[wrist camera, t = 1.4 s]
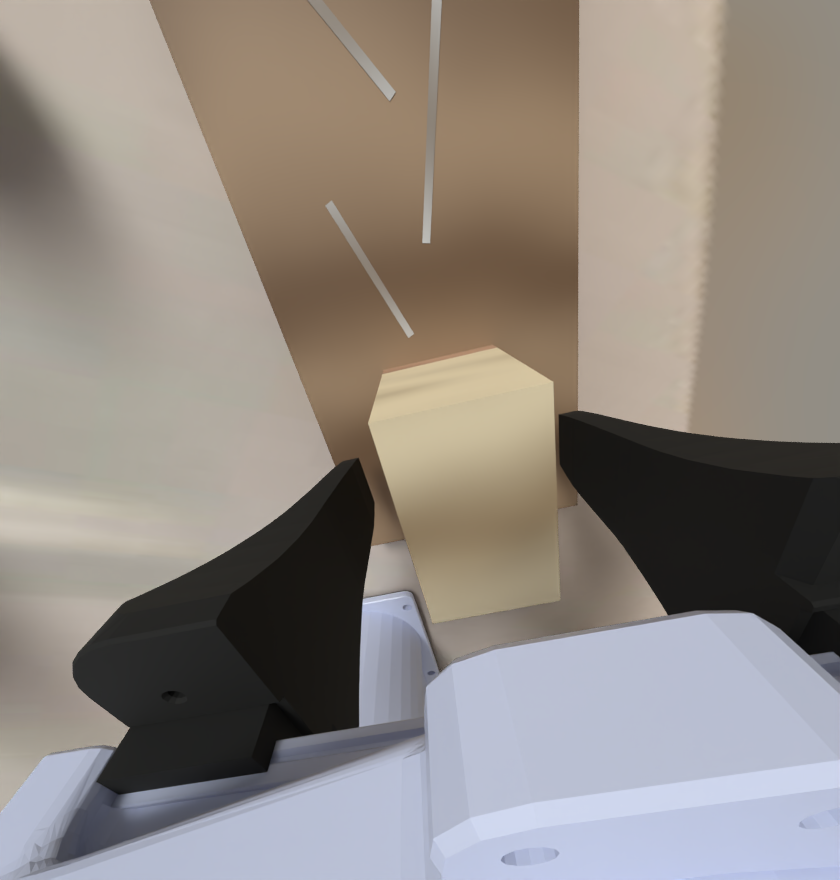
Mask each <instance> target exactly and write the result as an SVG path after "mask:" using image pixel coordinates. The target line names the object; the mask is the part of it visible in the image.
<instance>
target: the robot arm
mask: <svg viewBox="0 0 840 880" xmlns="http://www.w3.org/2000/svg"><path fill="white" fill-rule="evenodd" d="M558 419H559V460H560V466H561V467H562V469H563V471H564V473H565V474H566V476H567V478H568V479H569V481H570V482H571V484H572V485H573V487H574V488H575V489H576V490H577V492H578V493H579V494H580V495H581V496H582V498H583V499H584V500H585V501H586V502H587V504H588V505H589V506H590V507H591V508H592V509H593V511H594V512H595V513H596V514H597V515H598V516H599V518H600V519H601V520H602V521H603V522H604V523H605V525H606V526H607V527H608V528H609V529H610V530H611V532H612V533H613V534H614V535H615V536H616V538H617V539H618V540H619V542H620V543H621V544H622V545H623V547H624V548H625V550H626V551H627V553H628V554H629V556H630V557H631V559H632V560H633V561H634V563H635V564H636V566H637V567H638V569H639V570H640V572H641V573H642V575H643V576H644V578H645V579H646V581H647V582H648V584H649V586H650V587H651V589H652V590H653V592H654V593H655V595H656V596H657V598H658V600H659V601H660V603H661V604H662V606H663V608H664V609H665V611H666V613H667V614H668V616H662V617H656V618H650V619H645V620H639V621H633V622H627V623H621V624H615V625H610V626H604V627H598V628H592V629H586V630H581V631H575V632H569V633H563V634H557V635H552V636H546V637H540V638H534V639H528V640H523V641H517V642H511V643H505V644H499V645H494V646H491V647H488V648H485V649H482V650H479V651H476V652H473V653H470V654H467V655H464V656H461V657H458V658H456V659H455V660H454V661H452V662H451V663H450V664H449V665H448V666H447V667H446V668H445V669H444V670H442V671H441V672H440V671H439V668H438V666H437V663H436V660H435V657H434V654H433V651H432V648H431V645H430V642H429V639H428V636H427V634H426V631H425V628H424V625H423V622H422V619H421V616H420V613H419V610H418V607H417V604H416V601H415V599H414V596H413V594H412V593H411V592H409V591H401V592H396V593H391V594H386V595H380V596H375V597H370V598H364V599H363V592H364V584H365V578H366V572H367V566H368V560H369V555H370V549H371V543H372V537H373V531H374V518H375V502H374V499H373V496H372V493H371V491H370V488H369V485H368V482H367V479H366V477H365V474H364V471H363V468H362V465H361V463H360V460H359V458H355V459H350V460H345V461H342V462H341V463H339V464H338V465H337V466H336V467H335V468H333V469H332V470H331V471H330V472H329V473H328V474H327V475H326V476H325V477H324V478H323V479H322V480H321V481H320V482H319V483H318V484H316V485H315V486H314V487H313V488H312V489H311V490H310V491H309V492H308V493H307V494H306V495H304V496H303V497H302V498H301V499H300V500H299V501H297V502H296V503H295V504H294V505H293V506H292V507H291V508H289V509H288V510H287V511H286V512H284V513H283V514H282V515H281V516H279V517H278V518H277V519H275V520H274V521H273V522H271V523H270V524H269V525H267V526H266V527H264V528H263V529H262V530H260V531H259V532H257V533H256V534H254V535H252V536H251V537H249V538H248V539H246V540H245V541H243V542H241V543H240V544H238V545H237V546H235V547H233V548H232V549H230V550H229V551H227V552H225V553H224V554H222V555H220V556H218V557H216V558H215V559H213V560H211V561H209V562H207V563H206V564H204V565H202V566H200V567H198V568H196V569H194V570H192V571H190V572H189V573H187V574H185V575H183V576H181V577H179V578H177V579H174V580H172V581H170V582H168V583H166V584H164V585H161V586H159V587H157V588H155V589H153V590H151V591H149V592H146V593H144V594H142V595H140V596H138V597H136V598H133V599H131V600H129V601H126V602H125V603H124V604H122V605H121V606H120V607H119V608H118V609H117V610H116V612H115V613H114V614H113V615H112V616H111V617H110V618H109V619H108V620H107V621H106V623H105V624H104V625H103V626H102V627H101V628H100V629H99V630H98V631H97V632H96V634H95V635H94V636H93V637H92V638H91V639H90V640H89V641H88V642H87V644H86V645H85V646H84V647H83V648H82V649H81V650H80V651H79V652H78V654H77V656H76V657H75V659H74V661H73V678H74V680H75V682H76V683H77V685H78V687H79V688H80V689H81V690H82V691H83V692H84V693H85V694H86V695H87V696H88V697H89V698H90V699H92V700H93V701H94V702H96V703H97V704H98V705H100V706H101V707H102V708H104V709H105V710H106V711H108V712H109V713H110V714H112V715H113V716H114V717H116V718H117V719H118V720H120V721H121V722H123V723H124V724H125V725H127V726H128V727H130V729H129V730H128V732H127V734H126V735H125V737H124V738H123V740H122V741H121V743H120V745H119V746H118V748H115V747H111V746H105V745H102V746H91V747H85V748H79V749H73V750H67V751H61V752H55V753H51V754H49V755H47V756H45V757H44V758H43V759H42V760H41V761H40V763H39V764H38V765H37V767H36V768H35V769H34V770H33V772H32V773H31V774H30V776H29V777H28V778H27V779H26V781H25V782H24V783H23V785H22V786H21V787H20V788H19V790H18V791H17V792H16V794H15V795H14V796H13V797H12V799H11V800H10V801H9V803H8V804H7V805H6V806H5V808H4V809H3V810H2V812H1V813H0V880H840V443H802V442H801V443H800V442H778V441H762V440H748V439H735V438H724V437H715V436H708V435H700V434H692V433H686V432H679V431H673V430H668V429H663V428H657V427H652V426H647V425H643V424H638V423H633V422H629V421H625V420H620V419H616V418H612V417H608V416H603V415H599V414H594V413H590V412H584V411H572V412H568V413H563V414H558Z"/></svg>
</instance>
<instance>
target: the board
mask: <svg viewBox="0 0 840 880" xmlns="http://www.w3.org/2000/svg"><path fill="white" fill-rule="evenodd" d="M150 3H151V5H152V8H153V10H154V13H155V15H156V18H157V20H158V23H159V25H160V28H161V30H162V33H163V35H164V38H165V40H166V43H167V45H168V48H169V50H170V53H171V55H172V58H173V60H174V63H175V65H176V68H177V70H178V73H179V75H180V78H181V80H182V83H183V85H184V88H185V90H186V93H187V95H188V98H189V100H190V103H191V105H192V108H193V110H194V113H195V115H196V118H197V121H198V123H199V126H200V128H201V131H202V133H203V136H204V138H205V141H206V143H207V146H208V148H209V151H210V153H211V156H212V158H213V161H214V163H215V166H216V168H217V171H218V173H219V176H220V178H221V181H222V183H223V186H224V188H225V191H226V193H227V196H228V198H229V201H230V203H231V206H232V208H233V211H234V213H235V216H236V218H237V221H238V223H239V226H240V228H241V231H242V233H243V236H244V238H245V241H246V243H247V246H248V248H249V251H250V253H251V256H252V258H253V261H254V263H255V266H256V268H257V271H258V273H259V276H260V278H261V281H262V283H263V286H264V288H265V291H266V293H267V296H268V298H269V301H270V303H271V306H272V308H273V311H274V313H275V316H276V318H277V321H278V323H279V326H280V328H281V331H282V333H283V336H284V338H285V341H286V343H287V346H288V348H289V351H290V353H291V356H292V358H293V361H294V363H295V366H296V368H297V371H298V373H299V376H300V378H301V381H302V384H303V386H304V389H305V391H306V394H307V396H308V399H309V401H310V404H311V406H312V409H313V411H314V414H315V416H316V419H317V421H318V424H319V426H320V429H321V431H322V434H323V436H324V439H325V441H326V444H327V446H328V449H329V451H330V454H331V456H332V459H333V461H334V464H335V466H337V465H338V464H339V463H341V462H342V461H345V460H350V459H355V458H359V460H360V463H361V465H362V468H363V471H364V474H365V477H366V479H367V482H368V485H369V488H370V491H371V493H372V496H373V499H374V502H375V518H374V531H373V537H372V543H371V546H374V545H379V544H384V543H389V542H394V541H399V540H404V539H405V536H404V533H403V530H402V527H401V524H400V521H399V518H398V515H397V512H396V508H395V505H394V502H393V499H392V496H391V493H390V490H389V487H388V484H387V480H386V477H385V474H384V471H383V468H382V465H381V462H380V459H379V456H378V453H377V449H376V446H375V443H374V440H373V437H372V434H371V431H370V428H369V425H368V422H369V418H370V415H371V411H372V408H373V405H374V401H375V398H376V394H377V391H378V387H379V384H380V381H381V377H382V374H383V370H387V369H391V368H395V367H399V366H404V365H408V364H412V363H417V362H421V361H425V360H429V359H434V358H438V357H442V356H447V355H451V354H455V353H459V352H464V351H468V350H472V349H477V348H481V347H485V346H489V345H494V346H496V347H497V348H499V349H501V350H502V351H504V352H505V353H507V354H509V355H510V356H512V357H514V358H515V359H517V360H519V361H520V362H522V363H523V364H525V365H527V366H528V367H530V368H532V369H533V370H535V371H536V372H538V373H540V374H541V375H543V376H545V377H546V378H548V379H549V380H551V381H553V389H554V419H555V450H556V481H557V509H560V508H565V507H570V506H575V505H577V490H576V489H575V488H574V487H573V485H572V484H571V482H570V481H569V479H568V478H567V476H566V474H565V473H564V471H563V469H562V467H561V466H560V460H559V419H558V414H563V413H568V412H572V411H578V153H579V0H150Z"/></svg>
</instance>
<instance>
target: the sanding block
mask: <svg viewBox="0 0 840 880" xmlns="http://www.w3.org/2000/svg"><path fill="white" fill-rule="evenodd" d="M368 425H369V428H370V431H371V434H372V437H373V440H374V443H375V446H376V449H377V453H378V456H379V459H380V462H381V465H382V468H383V471H384V474H385V477H386V480H387V484H388V487H389V490H390V493H391V496H392V499H393V502H394V505H395V508H396V512H397V515H398V518H399V521H400V524H401V527H402V530H403V533H404V536H405V539H406V543H407V546H408V549H409V552H410V555H411V558H412V561H413V564H414V567H415V571H416V574H417V577H418V580H419V583H420V586H421V589H422V592H423V595H424V598H425V602H426V605H427V608H428V611H429V614H430V617H431V620H432V623H433V624H434V623H440V622H445V621H451V620H456V619H462V618H467V617H473V616H478V615H484V614H490V613H495V612H501V611H506V610H512V609H517V608H523V607H528V606H534V605H539V604H545V603H550V602H556V601H560V574H559V543H558V512H557V481H556V450H555V419H554V389H553V381H551V380H549V379H548V378H546V377H545V376H543V375H541V374H540V373H538V372H536V371H535V370H533V369H532V368H530V367H528V366H527V365H525V364H523V363H522V362H520V361H519V360H517V359H515V358H514V357H512V356H510V355H509V354H507V353H505V352H504V351H502V350H501V349H499V348H497V347H496V346H494V345H489V346H485V347H481V348H477V349H472V350H468V351H464V352H459V353H455V354H451V355H447V356H442V357H438V358H434V359H429V360H425V361H421V362H417V363H412V364H408V365H404V366H399V367H395V368H391V369H387V370H383V374H382V377H381V381H380V384H379V387H378V391H377V394H376V398H375V401H374V405H373V408H372V411H371V415H370V418H369V422H368Z"/></svg>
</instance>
